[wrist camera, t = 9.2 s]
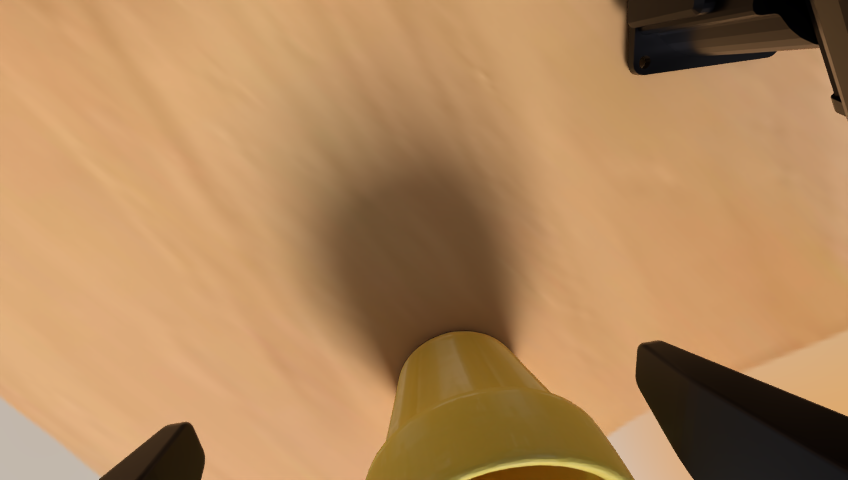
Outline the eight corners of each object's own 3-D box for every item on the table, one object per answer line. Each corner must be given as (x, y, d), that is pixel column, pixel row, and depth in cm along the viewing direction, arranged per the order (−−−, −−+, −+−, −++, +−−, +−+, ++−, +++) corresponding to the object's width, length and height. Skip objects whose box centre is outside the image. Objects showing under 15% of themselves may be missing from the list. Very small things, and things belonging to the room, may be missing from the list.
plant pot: (568, 414, 25) (677, 605, 16) (407, 473, 25) (423, 692, 16) (523, 269, 21) (630, 411, 12) (334, 341, 22) (301, 531, 13)
